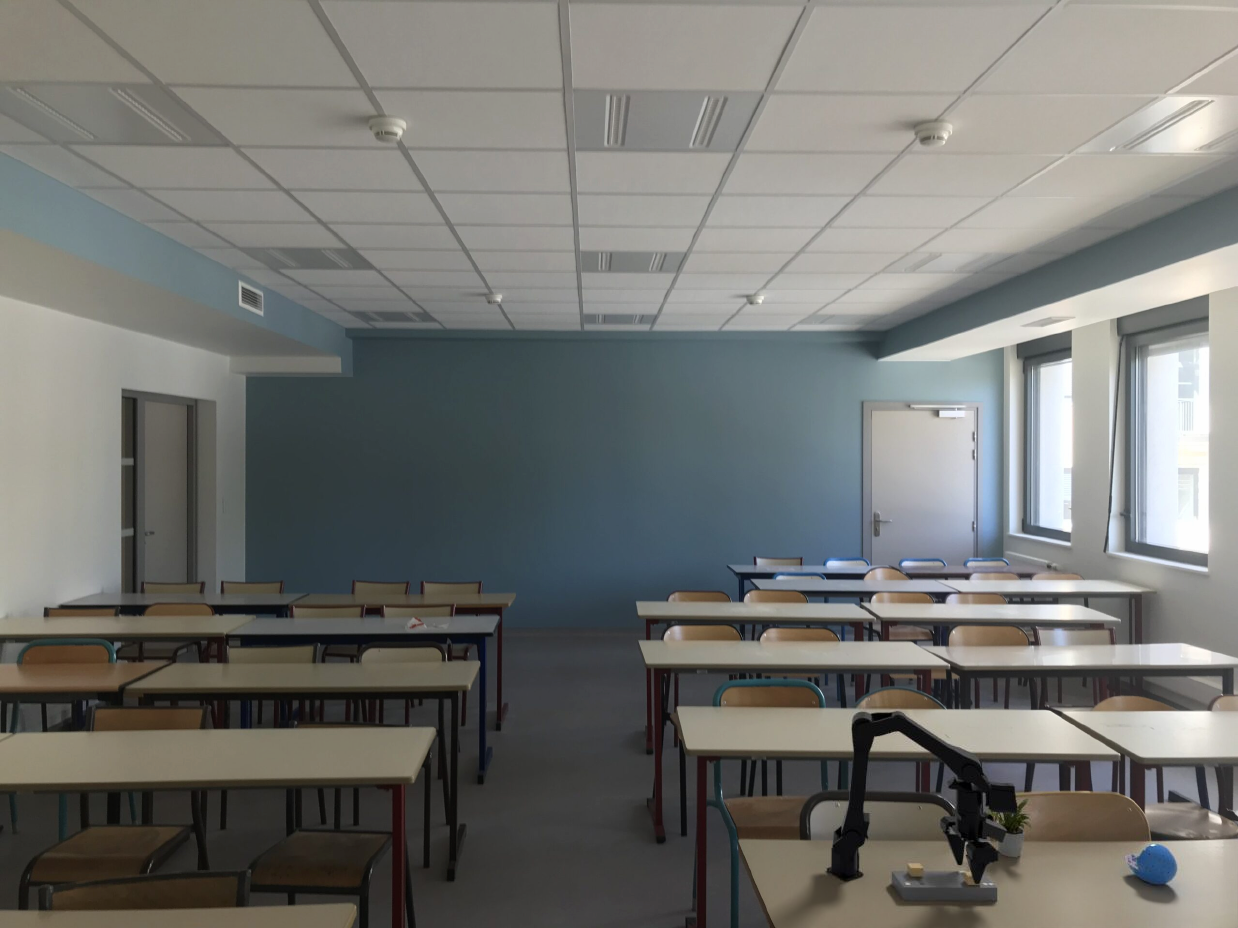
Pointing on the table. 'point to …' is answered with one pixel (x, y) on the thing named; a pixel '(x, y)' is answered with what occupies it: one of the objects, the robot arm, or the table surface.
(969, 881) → the outlet switch
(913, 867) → the outlet switch
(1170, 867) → the cell model
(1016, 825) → the house plant
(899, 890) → the grey slider switch box
